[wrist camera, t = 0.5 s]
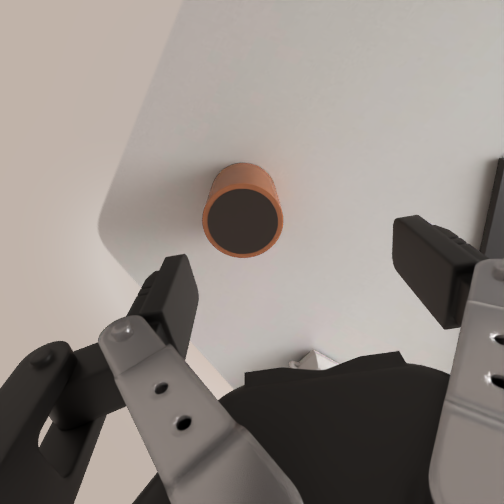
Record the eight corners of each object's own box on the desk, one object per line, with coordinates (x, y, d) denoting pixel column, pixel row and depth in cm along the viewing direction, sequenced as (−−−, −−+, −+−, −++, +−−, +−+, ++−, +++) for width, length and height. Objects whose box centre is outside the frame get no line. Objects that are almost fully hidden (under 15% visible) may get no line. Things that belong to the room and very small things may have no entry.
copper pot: (203, 169, 28) (192, 191, 22) (271, 157, 28) (277, 176, 22) (218, 230, 31) (212, 263, 25) (279, 220, 31) (287, 252, 25)
